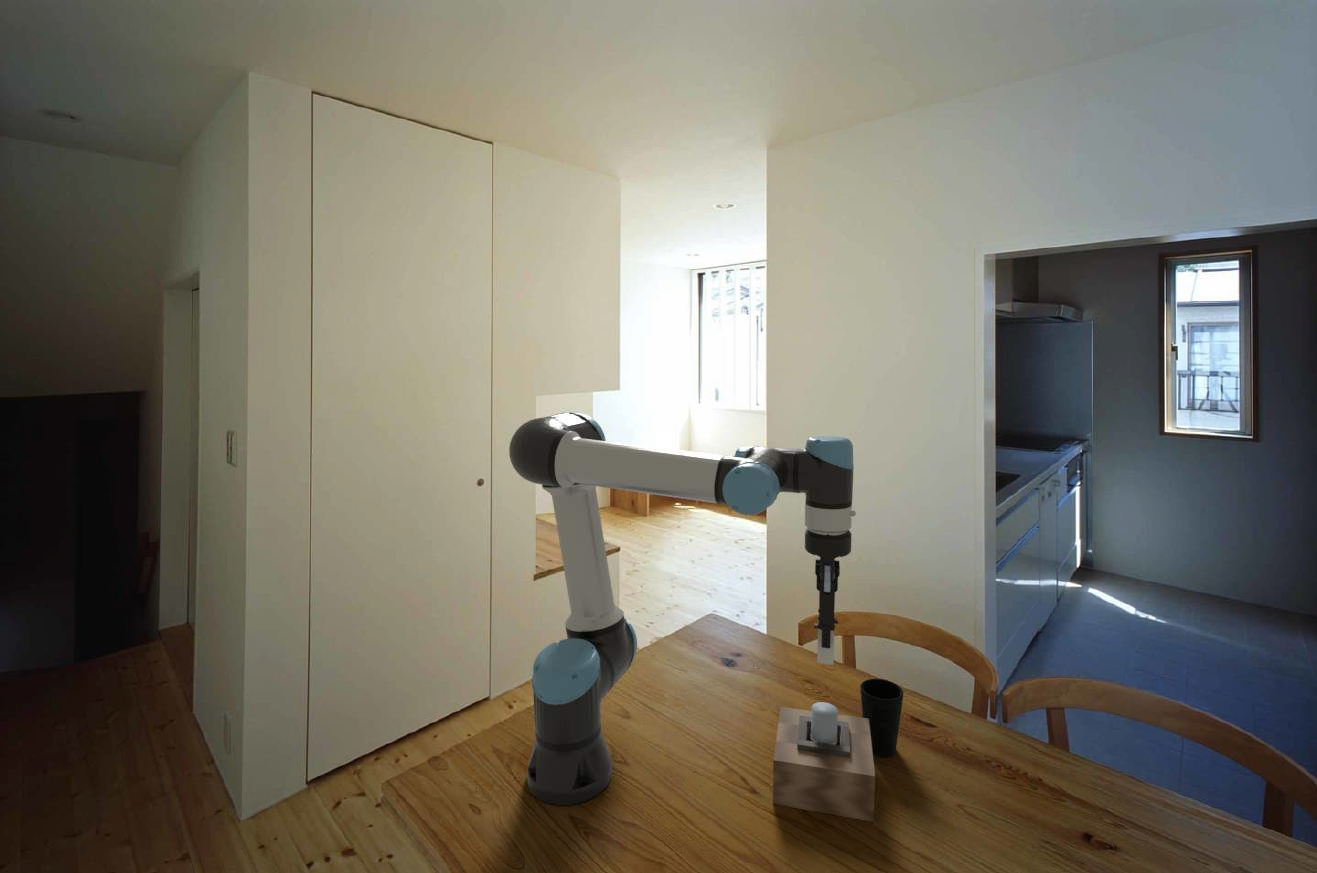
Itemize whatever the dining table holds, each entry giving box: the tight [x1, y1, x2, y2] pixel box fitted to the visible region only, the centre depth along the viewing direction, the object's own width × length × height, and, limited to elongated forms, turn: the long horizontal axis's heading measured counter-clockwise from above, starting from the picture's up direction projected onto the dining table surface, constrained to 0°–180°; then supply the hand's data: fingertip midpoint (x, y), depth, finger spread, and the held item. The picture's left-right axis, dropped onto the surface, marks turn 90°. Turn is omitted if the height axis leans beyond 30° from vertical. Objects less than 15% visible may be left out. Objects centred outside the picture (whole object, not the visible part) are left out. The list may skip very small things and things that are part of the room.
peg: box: [811, 701, 839, 745], centre depth 107 cm, size 4×4×12 cm
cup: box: [859, 678, 904, 758], centre depth 115 cm, size 8×8×12 cm
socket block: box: [772, 706, 876, 823], centre depth 107 cm, size 16×16×9 cm
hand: (825, 661), depth 105 cm, fingers closed
